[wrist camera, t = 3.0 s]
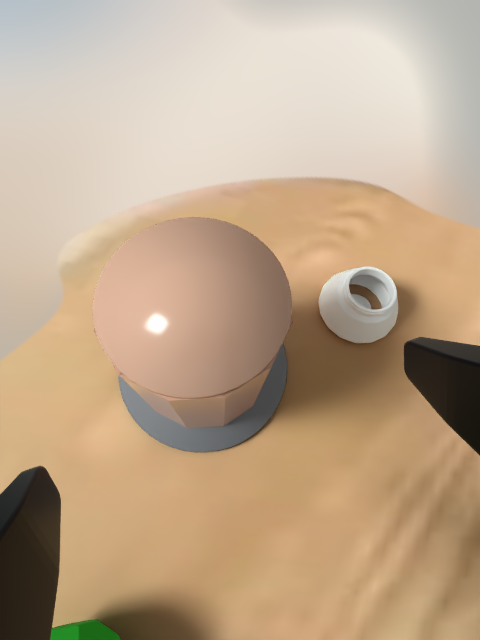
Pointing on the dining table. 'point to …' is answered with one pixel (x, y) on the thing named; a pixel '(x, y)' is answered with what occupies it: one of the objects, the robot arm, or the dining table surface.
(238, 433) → the rubber mat
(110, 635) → the polyhedron
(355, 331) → the white tapered ring
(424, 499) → the dining table surface
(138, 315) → the cover cup
